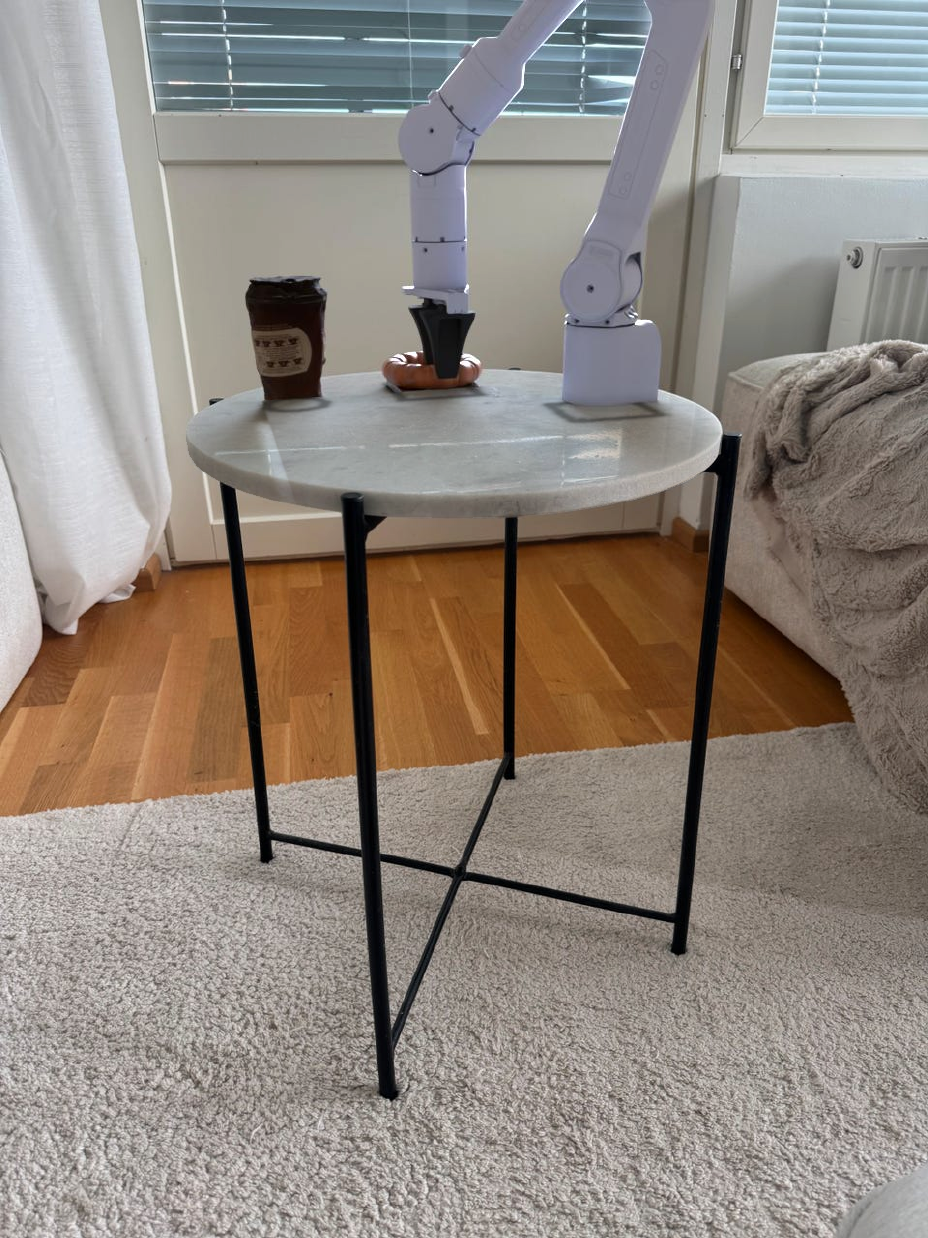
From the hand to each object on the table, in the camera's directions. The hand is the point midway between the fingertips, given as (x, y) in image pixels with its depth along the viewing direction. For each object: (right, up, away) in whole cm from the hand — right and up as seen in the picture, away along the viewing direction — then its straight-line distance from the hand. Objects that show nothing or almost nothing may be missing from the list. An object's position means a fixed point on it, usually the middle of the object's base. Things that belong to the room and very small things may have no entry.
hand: (442, 374), depth 100 cm
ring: (-1, +2, +4) cm, 5 cm away
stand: (-1, 0, +5) cm, 5 cm away
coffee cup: (-16, -4, -1) cm, 16 cm away
